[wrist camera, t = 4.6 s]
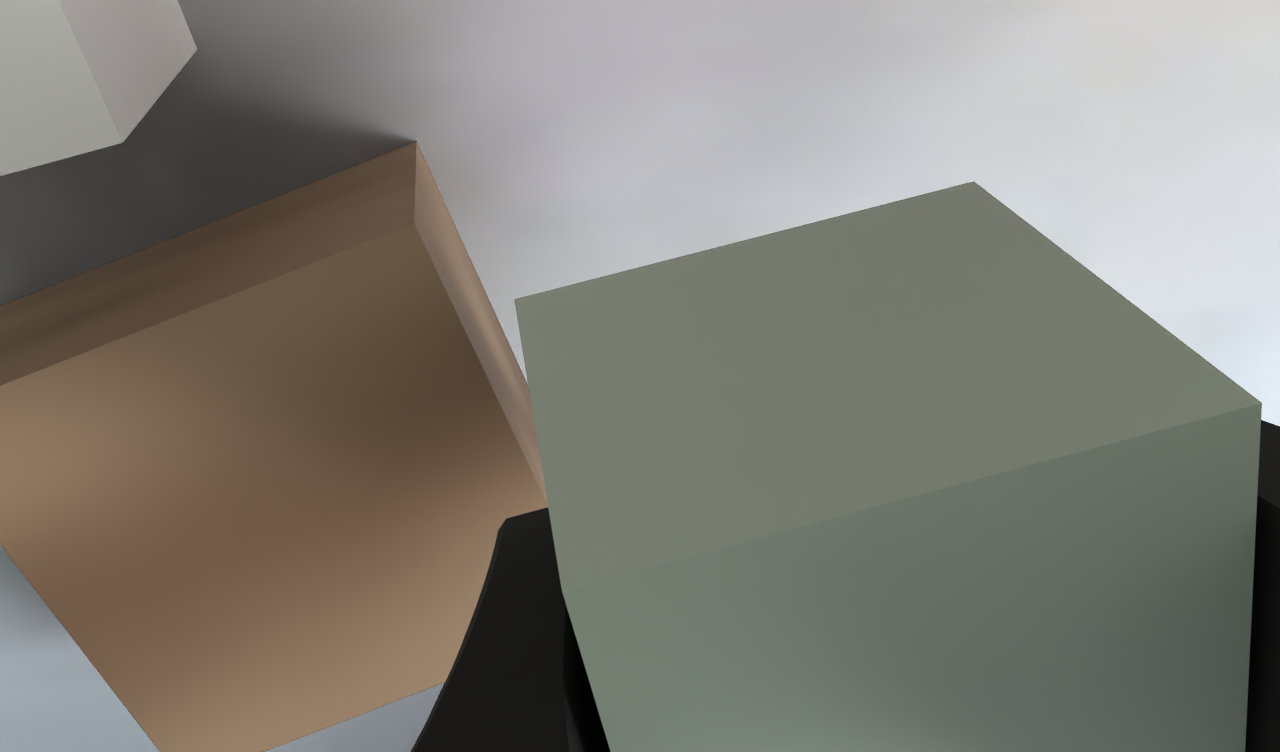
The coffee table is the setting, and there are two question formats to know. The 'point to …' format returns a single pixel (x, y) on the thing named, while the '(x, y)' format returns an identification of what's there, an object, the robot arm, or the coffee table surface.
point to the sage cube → (895, 496)
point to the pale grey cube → (82, 73)
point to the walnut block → (268, 459)
